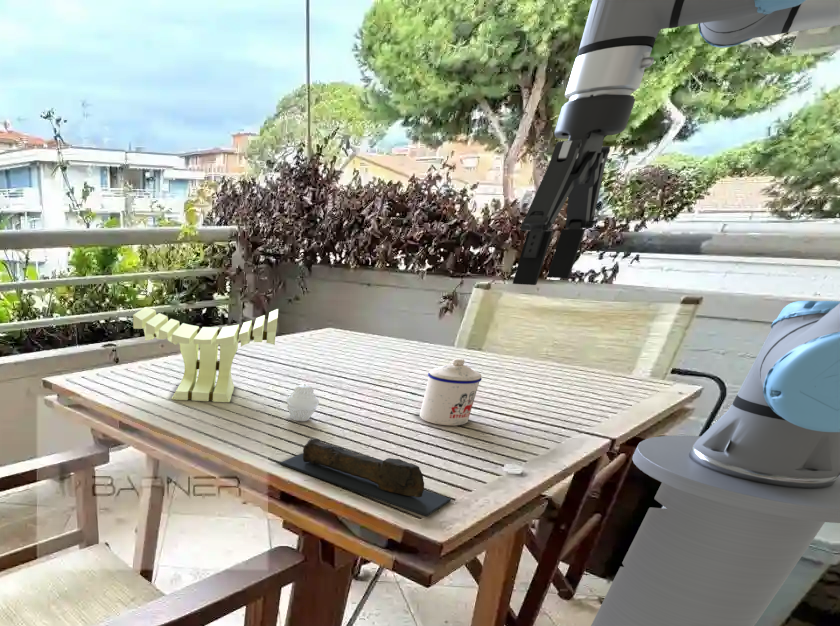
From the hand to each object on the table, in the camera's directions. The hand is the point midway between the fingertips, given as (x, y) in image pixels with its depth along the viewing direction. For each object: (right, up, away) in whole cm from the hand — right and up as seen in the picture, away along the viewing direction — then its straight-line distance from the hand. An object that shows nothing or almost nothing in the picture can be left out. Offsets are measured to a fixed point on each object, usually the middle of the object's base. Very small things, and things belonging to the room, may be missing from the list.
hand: (541, 281), depth 79 cm
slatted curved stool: (-43, -4, +49) cm, 66 cm away
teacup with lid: (+3, -14, +30) cm, 33 cm away
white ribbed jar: (-26, -14, +30) cm, 43 cm away
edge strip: (-25, -29, +4) cm, 38 cm away
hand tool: (-25, -29, +4) cm, 38 cm away
